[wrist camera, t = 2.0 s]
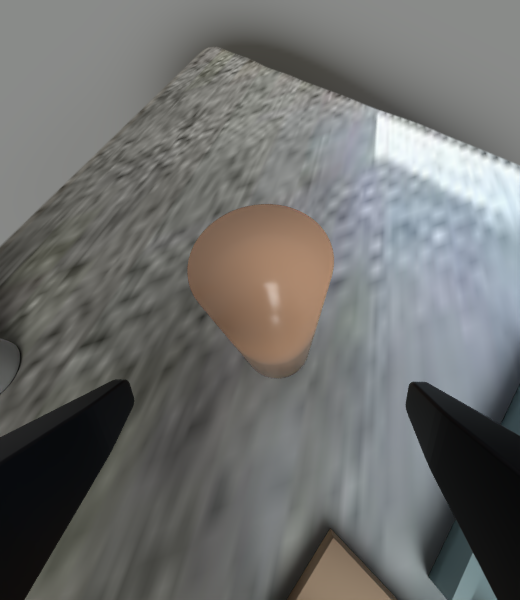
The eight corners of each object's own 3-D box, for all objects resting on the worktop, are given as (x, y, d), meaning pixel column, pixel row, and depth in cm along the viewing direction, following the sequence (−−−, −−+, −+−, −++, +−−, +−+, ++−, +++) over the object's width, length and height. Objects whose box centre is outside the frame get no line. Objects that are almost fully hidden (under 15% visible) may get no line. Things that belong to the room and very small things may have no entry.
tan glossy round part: (281, 393, 18) (266, 362, 7) (231, 349, 20) (159, 270, 9) (322, 340, 19) (364, 245, 8) (272, 303, 21) (252, 186, 10)
